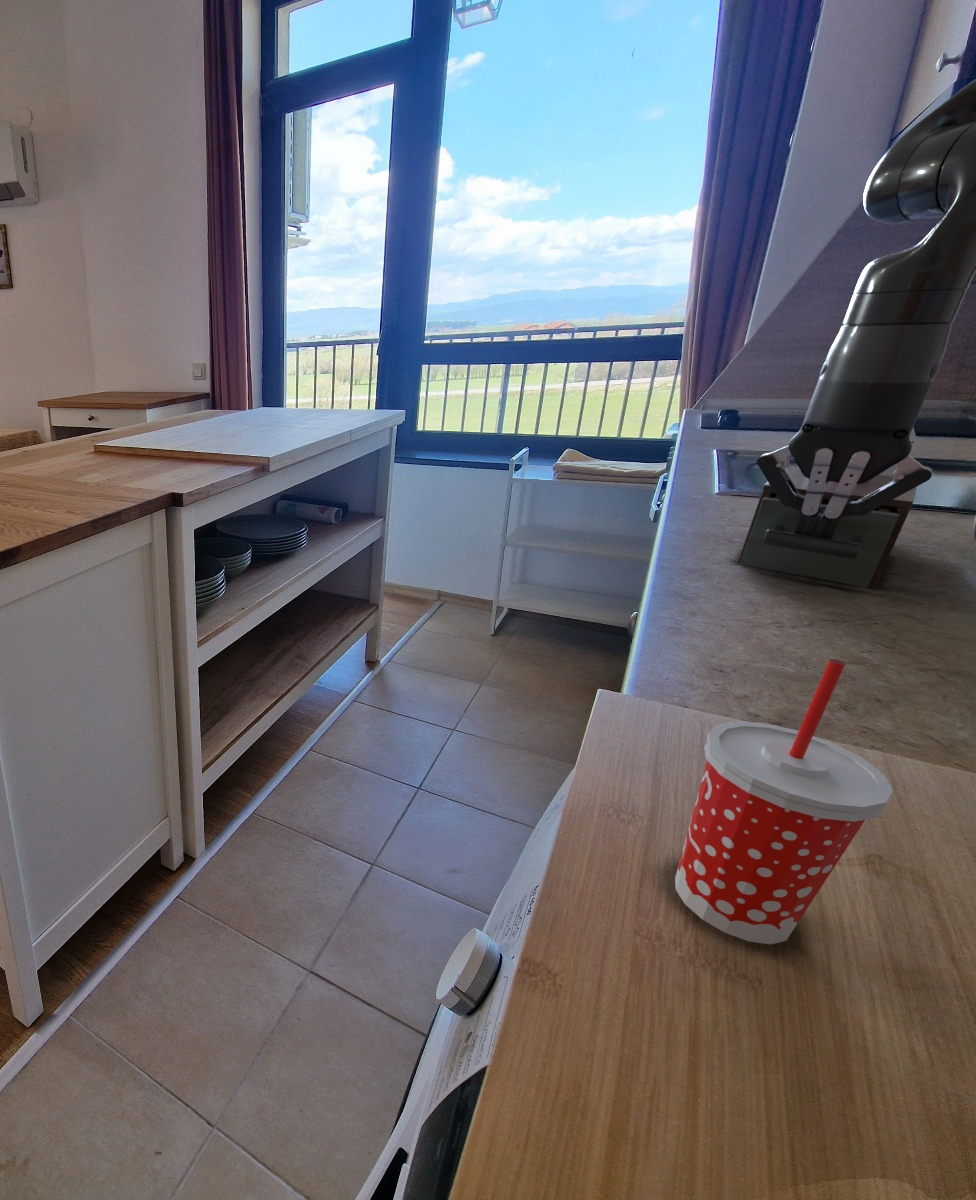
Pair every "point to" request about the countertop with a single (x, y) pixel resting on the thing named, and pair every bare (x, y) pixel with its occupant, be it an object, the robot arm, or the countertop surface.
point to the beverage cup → (773, 821)
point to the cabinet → (860, 491)
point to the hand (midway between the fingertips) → (806, 549)
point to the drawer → (819, 544)
